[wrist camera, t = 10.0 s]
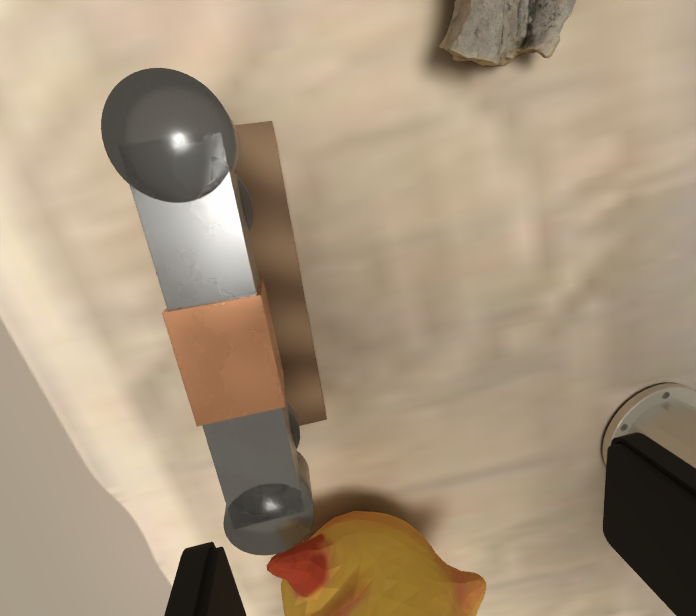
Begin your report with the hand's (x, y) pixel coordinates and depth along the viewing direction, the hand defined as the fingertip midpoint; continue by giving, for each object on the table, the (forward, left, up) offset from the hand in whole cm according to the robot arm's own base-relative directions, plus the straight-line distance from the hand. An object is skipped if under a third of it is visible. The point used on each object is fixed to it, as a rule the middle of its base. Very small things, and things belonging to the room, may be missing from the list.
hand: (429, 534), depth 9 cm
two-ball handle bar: (+1, +6, -15) cm, 16 cm away
